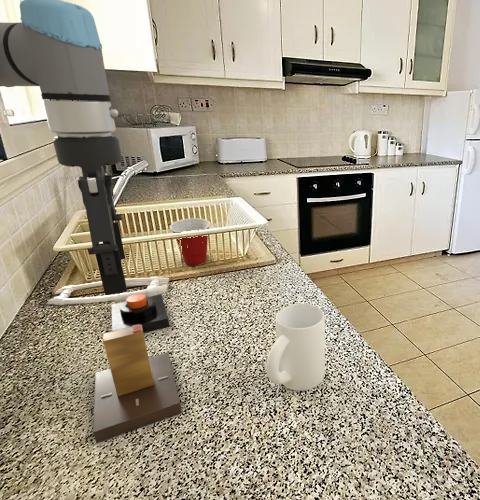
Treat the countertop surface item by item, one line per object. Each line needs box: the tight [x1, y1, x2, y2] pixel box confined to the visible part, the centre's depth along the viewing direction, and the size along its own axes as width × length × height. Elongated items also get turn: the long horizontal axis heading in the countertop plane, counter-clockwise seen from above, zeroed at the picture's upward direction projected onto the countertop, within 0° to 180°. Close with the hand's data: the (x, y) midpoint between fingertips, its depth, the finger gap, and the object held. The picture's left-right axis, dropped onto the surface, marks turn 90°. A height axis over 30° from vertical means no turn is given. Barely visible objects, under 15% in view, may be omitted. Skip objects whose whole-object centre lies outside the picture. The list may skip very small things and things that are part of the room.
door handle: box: [46, 276, 170, 306], centre depth 89 cm, size 3×10×25 cm
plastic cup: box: [168, 217, 212, 266], centre depth 107 cm, size 11×11×12 cm
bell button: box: [126, 294, 147, 309], centre depth 79 cm, size 4×4×2 cm
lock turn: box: [102, 324, 154, 396], centre depth 57 cm, size 5×2×10 cm, turn 121°
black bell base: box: [110, 293, 171, 334], centre depth 80 cm, size 12×10×4 cm
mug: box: [265, 303, 326, 392], centre depth 61 cm, size 8×12×12 cm
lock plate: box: [92, 352, 183, 444], centre depth 59 cm, size 14×11×2 cm
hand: (116, 274), depth 59 cm, fingers open, 13 cm apart
